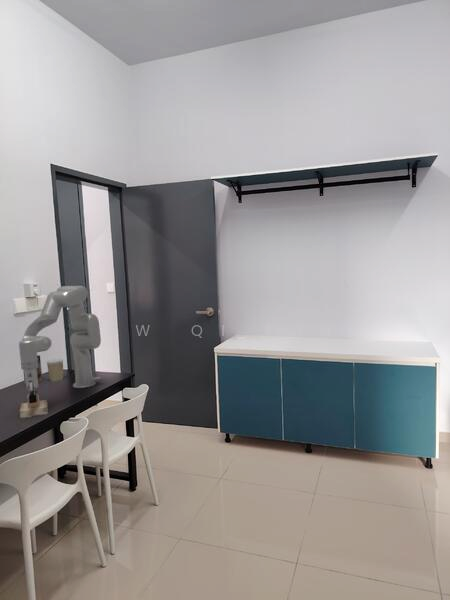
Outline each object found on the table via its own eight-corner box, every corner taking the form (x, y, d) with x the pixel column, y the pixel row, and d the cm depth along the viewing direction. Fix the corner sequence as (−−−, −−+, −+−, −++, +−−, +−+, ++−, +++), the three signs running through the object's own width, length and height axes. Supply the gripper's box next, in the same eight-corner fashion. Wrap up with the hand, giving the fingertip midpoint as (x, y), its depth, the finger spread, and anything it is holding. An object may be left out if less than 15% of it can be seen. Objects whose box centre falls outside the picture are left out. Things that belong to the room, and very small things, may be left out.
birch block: (47, 406, 218) (47, 399, 218) (47, 414, 207) (46, 406, 206) (21, 411, 213) (21, 403, 213) (20, 419, 202) (19, 411, 202)
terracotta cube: (39, 402, 213) (38, 392, 212) (39, 405, 208) (38, 395, 208) (28, 404, 211) (27, 394, 211) (28, 407, 207) (26, 397, 206)
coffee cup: (67, 378, 265) (65, 359, 264) (53, 382, 258) (51, 363, 257) (59, 376, 271) (58, 357, 270) (45, 380, 264) (43, 361, 263)
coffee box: (34, 385, 255) (31, 358, 253) (24, 385, 256) (21, 358, 254) (43, 380, 264) (40, 355, 262) (33, 380, 265) (31, 355, 263)
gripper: (37, 367, 201) (41, 404, 203) (38, 359, 217) (41, 394, 219) (20, 370, 198) (24, 407, 200) (22, 361, 214) (25, 396, 216)
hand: (33, 400), depth 209 cm, fingers open, 5 cm apart
